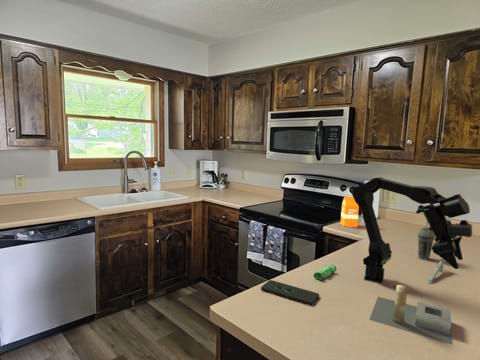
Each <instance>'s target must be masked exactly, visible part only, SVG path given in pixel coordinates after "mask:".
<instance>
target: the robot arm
mask: <svg viewBox="0 0 480 360" xmlns="http://www.w3.org/2000/svg"><path fill="white" fill-rule="evenodd" d="M380 189H382V190H385V191H388V192H392V193H396V194H399V195H402V196H405V197H407V198H408V199H410V200H411V201H414V202H415V203H418V204H420V205H419V206H417V210H416V211H415V214H421V213H422V214H423V215H424V217H425V220H426V222H428V226H429V227H428V228H429V229H430V231H431V230H432V232H433V234H434V236H435V238H434V241H435V242H433V243H432V248H431V251H432V252H433V254H434V255H435V254H436V256H439V258H440V259H441V258H443V260H444V261H445V262H446V263H448V264H449V265H450V266H451V267H452V268H454V270H457V269H459V268H460V267H459V264H458V260H459V261H462V260H463V259H464V258H463V254H462V253H463V252H462V249H461V244H460V243H461V241H462V239H463V237H465V238H471V237H472V235H473V224H471V223H469V221H467V219H461V220H460V222H459V223H452V221H451V220H449V219H452V218H455V217H460V216H464V215H468V214H470V213H471V212H470V211H471V210H470V205H469V203H468V202H467V201H466V200H465V198H463V197H462V195H461V194H460V193H457V194H454V195H451V196H450V197H447V198H446V197H445V196H443V195H442V194H440V193H438V191H437V189H436V188H435V187H432V186H425V185H411V184H406V183H402V182H399V181H395V180H391V179H387V178H384V177H381V176H379V177H378V176H377V177H373V178H372V179H371V180H369V181H367V182H365V183H363V184H361V185H359V186H358V185H357V186H355V187H354V188H353V189H352V191H351V195H352V196H351V197H353V198H354V200H355V202H356V203H357V205H358V206H359V208H360V209H359V210H360V211H361V215H362V219H363V223H364V226H365V229H366V233H367V237H368V241H369V244H368V249H367V250H368V255H367V256H366V257H364V258H362V262H363V265H365V271H364V272H365V273H364V277H363V279H364V280H367V281H370V282H376V283H379V284H380V283H382V282H383V281H384V279H385V268H384V265H386V263H388V261H390V260H391V258H392V253H393V252H392V250H391V245H390V242H385V241H384V240H383V238H382V234H381V230H380V227H379V223H378V219H377V217H376V213H375V210H374V205H373V204H374V200H375V199H374V194H375V193H376V192H378V191H379V190H380ZM425 204H428V205H425ZM436 204H437V205H436ZM447 218H449V219H447ZM457 259H458V260H457Z"/></svg>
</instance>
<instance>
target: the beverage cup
mask: <svg viewBox="0 0 480 360" xmlns="http://www.w3.org/2000/svg"><path fill="white" fill-rule="evenodd" d="M425 224H426V225H425V227H421V228H420V229H419V230H418V233H417V239H418V241H417V243H418V244H417V245H418V247H417V249H418V250H417V251H418V252H417V255H418V256H417V257H418V259H420V260H423V261H429V260H430V257H431V252H432V246H433V244H434V241H435V238H436V237H435V235H434V234H433V232H432V230H431V231H430V229H429V227H428V226H429V224H428V222H427V221H426V223H425Z"/></svg>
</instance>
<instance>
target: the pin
mask: <svg viewBox="0 0 480 360" xmlns="http://www.w3.org/2000/svg"><path fill="white" fill-rule="evenodd" d="M407 295H408V287H407V286H406V285H404V284H397V285H396V289H395V296H394V297H395V300H394V301H395V308H394V318H393V321H394V322H395V323H397V324H404V317H405V307H406V304H407V297H408V296H407Z"/></svg>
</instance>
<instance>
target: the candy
mask: <svg viewBox="0 0 480 360" xmlns="http://www.w3.org/2000/svg"><path fill="white" fill-rule="evenodd" d="M336 271H337V267H336V265H334V264H329V266H324V267H321V268H320V270H319V271H315V272H314V274H313V278H314V279H315V280H316V279H317V280H319V281H321V280H322V279H323V278H324V279H326V278H328V277H330V276H331V274H332V273H334V274H335V273H336Z"/></svg>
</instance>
